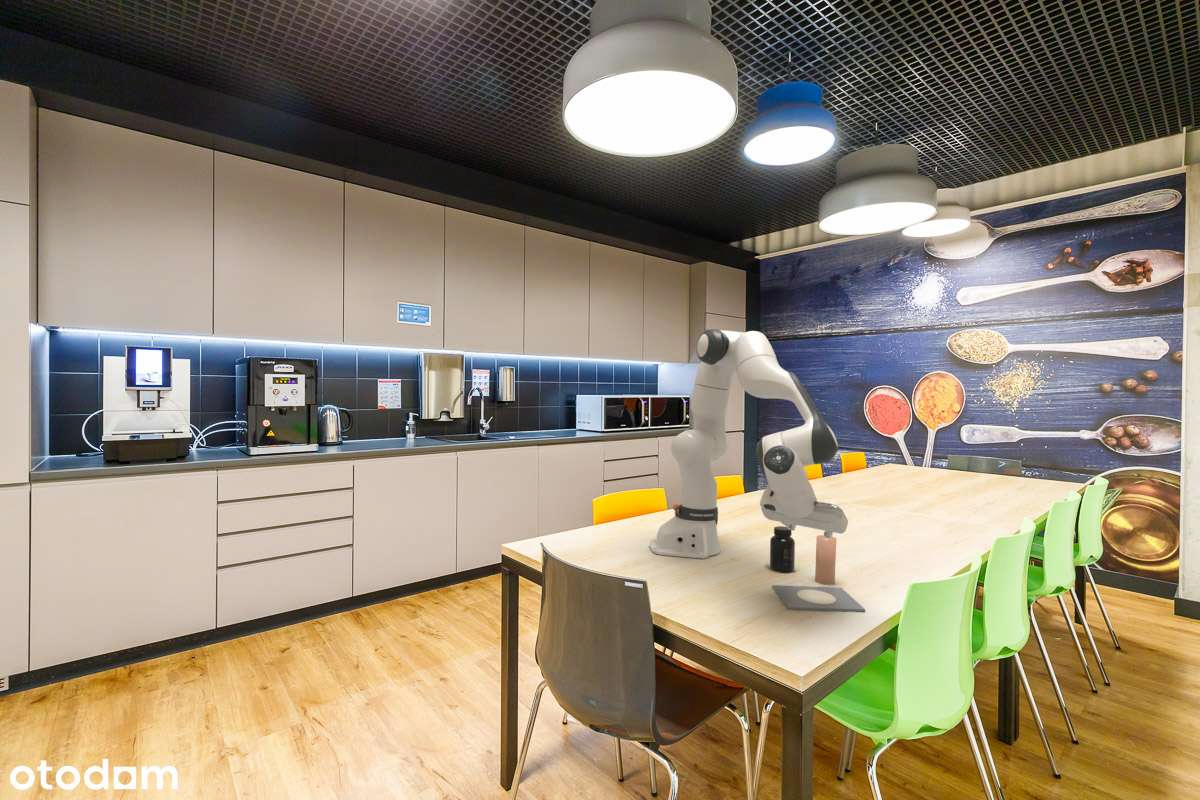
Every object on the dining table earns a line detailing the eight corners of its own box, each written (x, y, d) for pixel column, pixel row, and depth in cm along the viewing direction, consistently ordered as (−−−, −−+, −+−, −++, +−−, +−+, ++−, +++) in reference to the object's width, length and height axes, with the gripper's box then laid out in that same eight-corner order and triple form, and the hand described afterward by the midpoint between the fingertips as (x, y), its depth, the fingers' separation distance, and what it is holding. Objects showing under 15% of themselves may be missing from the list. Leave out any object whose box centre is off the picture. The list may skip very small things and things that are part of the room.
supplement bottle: (794, 566, 161) (795, 526, 161) (794, 574, 155) (795, 532, 154) (769, 563, 163) (771, 524, 163) (768, 571, 157) (770, 529, 157)
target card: (788, 609, 130) (788, 606, 130) (772, 587, 144) (772, 584, 144) (865, 612, 130) (865, 609, 130) (841, 589, 144) (841, 587, 144)
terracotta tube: (818, 584, 147) (820, 540, 147) (812, 577, 152) (813, 535, 152) (837, 585, 147) (839, 540, 147) (830, 578, 152) (832, 535, 152)
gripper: (844, 495, 128) (856, 529, 135) (761, 483, 141) (776, 514, 149) (837, 517, 124) (849, 551, 132) (753, 503, 138) (769, 534, 146)
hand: (810, 531), depth 140 cm, fingers open, 8 cm apart
